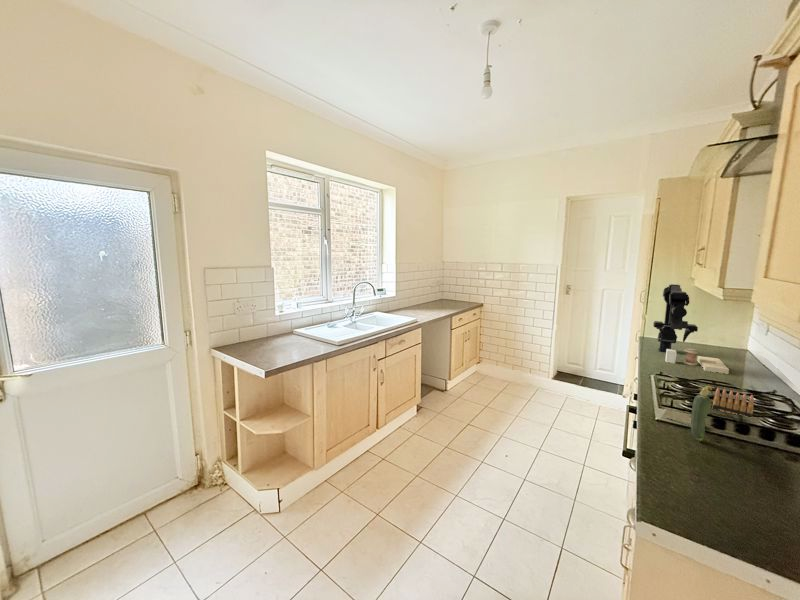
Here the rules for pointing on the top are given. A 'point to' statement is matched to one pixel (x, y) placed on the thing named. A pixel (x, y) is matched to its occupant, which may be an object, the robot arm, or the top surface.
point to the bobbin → (691, 357)
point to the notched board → (712, 364)
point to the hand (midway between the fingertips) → (672, 340)
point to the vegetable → (700, 413)
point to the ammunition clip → (728, 406)
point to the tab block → (670, 356)
